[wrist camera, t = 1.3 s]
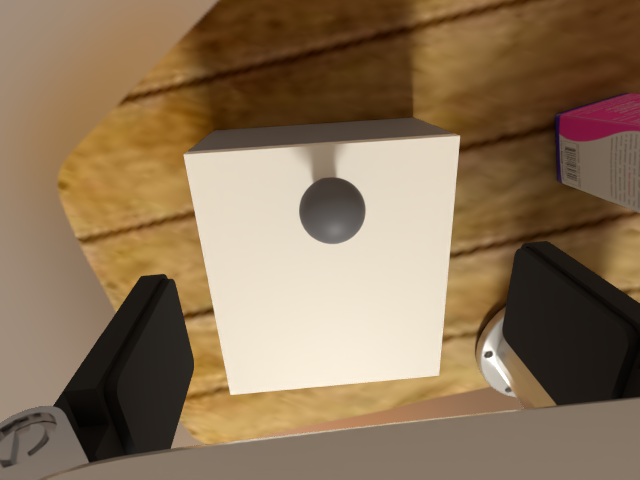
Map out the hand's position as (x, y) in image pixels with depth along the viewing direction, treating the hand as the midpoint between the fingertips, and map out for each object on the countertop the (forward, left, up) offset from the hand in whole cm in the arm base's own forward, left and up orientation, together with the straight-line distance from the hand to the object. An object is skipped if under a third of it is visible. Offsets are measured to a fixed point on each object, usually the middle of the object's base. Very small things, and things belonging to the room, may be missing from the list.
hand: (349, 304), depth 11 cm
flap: (0, +6, -13) cm, 14 cm away
